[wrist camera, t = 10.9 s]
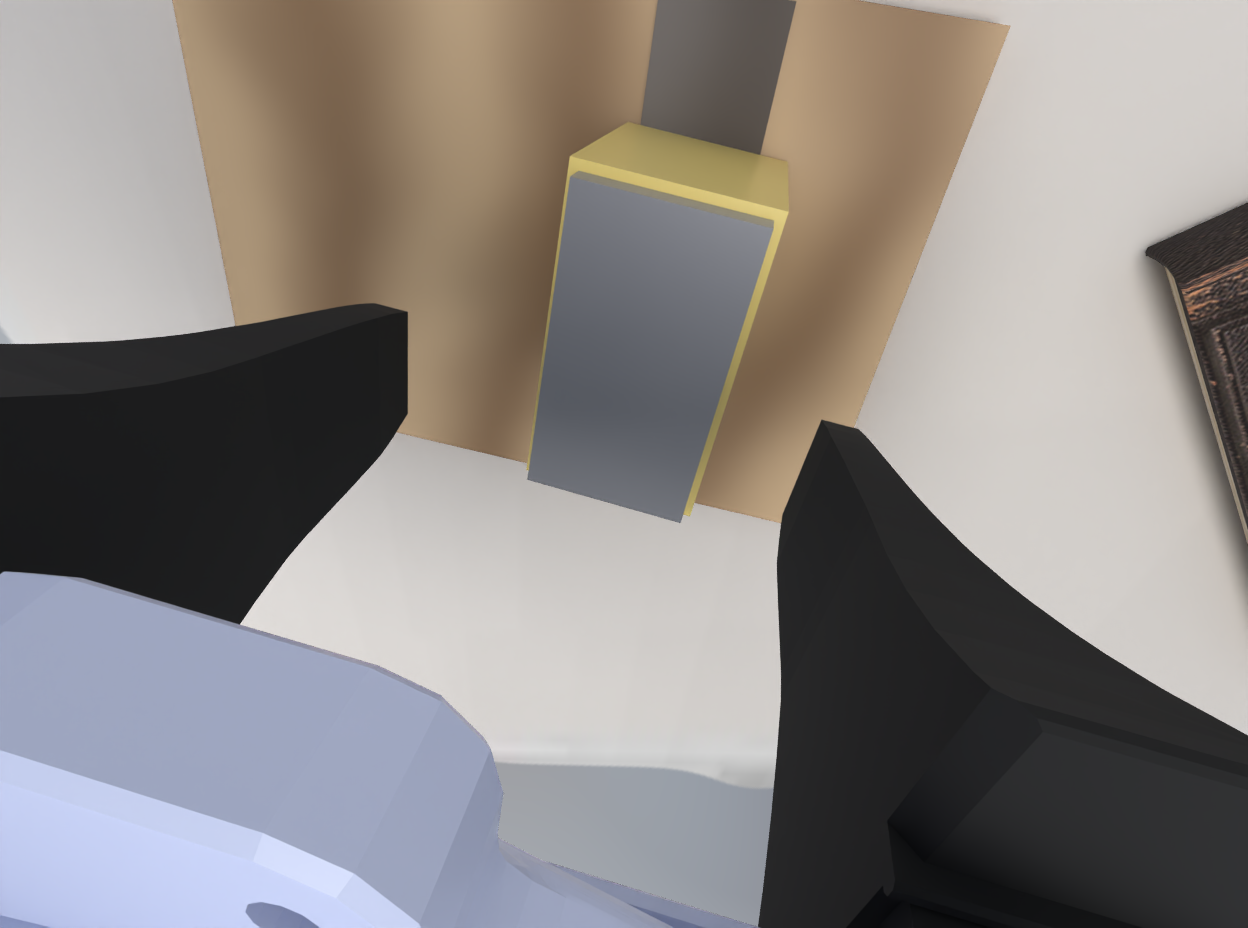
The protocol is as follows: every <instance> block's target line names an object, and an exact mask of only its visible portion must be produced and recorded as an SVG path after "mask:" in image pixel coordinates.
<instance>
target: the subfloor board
mask: <svg viewBox="0 0 1248 928" xmlns="http://www.w3.org/2000/svg"><path fill="white" fill-rule="evenodd" d="M172 1H173V6H174V11H175V17H176V22H177V27H178V32H179V37H180V42H181V47H182V53H183V58H184V63H185V68H186V73H187V78H188V83H189V88H190V94H191V99H192V104H193V109H194V114H195V119H196V124H197V130H198V135H199V140H200V145H201V150H202V155H203V160H204V166H205V171H206V176H207V181H208V186H209V191H210V196H211V201H212V207H213V212H214V217H215V222H216V227H217V232H218V237H219V243H220V248H221V253H222V258H223V263H224V268H225V273H226V279H227V284H228V289H229V294H230V299H231V304H232V309H233V315H234V320H235V325H236V326H240V325H245V324H251V323H257V322H263V321H268V320H273V319H278V318H283V317H288V316H293V315H298V314H303V313H308V312H314V311H319V310H324V309H329V308H335V307H341V306H347V305H354V304H364V303H376V304H380V305H384V306H388V307H392V308H395V309H399V310H403V311H407V312H408V414H407V416H406V418H405V419H404V421H403V422H402V424H401V426H400V427H399V429H398V430H397V432H398V433H402V434H406V435H410V436H415V437H419V438H423V439H427V440H431V441H436V442H440V443H444V444H448V445H453V446H457V447H461V448H465V449H470V450H474V451H478V452H482V453H486V454H491V455H495V456H499V457H503V458H508V459H512V460H516V461H520V462H525V463H527V462H528V455H529V448H530V441H531V433H532V426H533V419H534V412H535V404H536V397H537V390H538V383H539V375H540V368H541V361H542V354H543V346H544V339H545V332H546V325H547V317H548V310H549V303H550V296H551V289H552V281H553V274H554V267H555V260H556V252H557V245H558V238H559V231H560V223H561V216H562V209H563V202H564V194H565V187H566V180H567V173H568V165H569V158H570V156H571V155H573V154H574V153H576V152H578V151H579V150H581V149H583V148H585V147H586V146H588V145H590V144H591V143H593V142H595V141H596V140H598V139H600V138H602V137H603V136H605V135H607V134H608V133H610V132H612V131H614V130H615V129H617V128H619V127H620V126H622V125H624V124H625V123H627V122H630V123H634V124H638V125H642V126H646V127H650V128H654V129H658V130H662V131H666V132H670V133H674V134H678V135H682V136H686V137H690V138H694V139H698V140H702V141H706V142H710V143H714V144H718V145H722V146H726V147H730V148H734V149H738V150H742V151H746V152H750V153H754V154H758V155H762V156H766V157H770V158H774V159H778V160H782V161H786V162H788V192H789V213H788V216H787V219H786V222H785V225H784V228H783V231H782V234H781V238H780V241H779V244H778V247H777V250H776V253H775V256H774V259H773V262H772V265H771V268H770V271H769V274H768V278H767V281H766V284H765V287H764V290H763V293H762V296H761V299H760V302H759V305H758V308H757V311H756V315H755V318H754V321H753V324H752V327H751V330H750V333H749V336H748V339H747V342H746V345H745V348H744V351H743V355H742V358H741V361H740V364H739V367H738V370H737V373H736V376H735V379H734V382H733V385H732V388H731V391H730V395H729V398H728V401H727V404H726V407H725V410H724V413H723V416H722V419H721V422H720V425H719V428H718V431H717V435H716V438H715V441H714V444H713V447H712V450H711V453H710V456H709V459H708V462H707V465H706V468H705V472H704V475H703V478H702V481H701V484H700V487H699V490H698V493H697V496H696V499H695V502H694V503H698V504H702V505H706V506H711V507H715V508H719V509H723V510H728V511H732V512H736V513H740V514H744V515H749V516H753V517H757V518H761V519H766V520H770V521H774V522H778V523H781V521H782V514H783V512H784V509H785V507H786V505H787V502H788V500H789V497H790V495H791V492H792V490H793V488H794V485H795V483H796V480H797V478H798V475H799V473H800V471H801V468H802V466H803V463H804V461H805V458H806V456H807V453H808V451H809V449H810V446H811V444H812V441H813V439H814V436H815V434H816V432H817V429H818V427H819V424H820V422H821V419H822V420H825V421H829V422H833V423H837V424H841V425H845V426H848V427H852V428H854V425H855V423H856V420H857V417H858V415H859V412H860V410H861V407H862V405H863V402H864V400H865V397H866V394H867V392H868V389H869V387H870V384H871V382H872V379H873V377H874V374H875V371H876V369H877V366H878V364H879V361H880V359H881V356H882V354H883V351H884V348H885V346H886V343H887V341H888V338H889V336H890V333H891V330H892V328H893V325H894V323H895V320H896V318H897V315H898V313H899V310H900V307H901V305H902V302H903V300H904V297H905V295H906V292H907V290H908V287H909V284H910V282H911V279H912V277H913V274H914V272H915V269H916V267H917V264H918V261H919V259H920V256H921V254H922V251H923V249H924V246H925V244H926V241H927V238H928V236H929V233H930V231H931V228H932V226H933V223H934V221H935V218H936V215H937V213H938V210H939V208H940V205H941V203H942V200H943V197H944V195H945V192H946V190H947V187H948V185H949V182H950V180H951V177H952V174H953V172H954V169H955V167H956V164H957V162H958V159H959V157H960V154H961V151H962V149H963V146H964V144H965V141H966V139H967V136H968V134H969V131H970V128H971V126H972V123H973V121H974V118H975V116H976V113H977V111H978V108H979V105H980V103H981V100H982V98H983V95H984V93H985V90H986V88H987V85H988V82H989V80H990V77H991V75H992V72H993V70H994V67H995V64H996V62H997V59H998V57H999V54H1000V52H1001V49H1002V47H1003V44H1004V41H1005V39H1006V36H1007V34H1008V31H1009V29H1010V26H1008V25H1002V24H996V23H990V22H984V21H978V20H972V19H966V18H960V17H954V16H948V15H942V14H936V13H930V12H924V11H918V10H912V9H906V8H900V7H894V6H888V5H882V4H876V3H870V2H864V1H858V0H172Z"/></svg>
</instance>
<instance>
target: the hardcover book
mask: <svg viewBox="0 0 1248 928" xmlns="http://www.w3.org/2000/svg"><path fill="white" fill-rule="evenodd" d="M1145 253H1146V256H1149V257H1151V258H1153V259H1155V260H1157V261H1158V262H1159V263H1161V264H1162V265H1163V266H1164V267H1165V270H1166V273H1167V277H1168V280H1169V283H1170V287H1171V290H1172V293H1173V297H1174V300H1175V303H1176V307H1177V310H1178V313H1179V317H1180V320H1181V323H1182V327H1183V330H1184V333H1185V336H1186V340H1187V343H1188V346H1189V350H1190V353H1191V356H1192V360H1193V363H1194V366H1195V370H1196V373H1197V376H1198V380H1199V383H1200V386H1201V390H1202V393H1203V396H1204V399H1205V403H1206V406H1207V409H1208V413H1209V416H1210V419H1211V423H1212V426H1213V429H1214V433H1215V436H1216V439H1217V443H1218V446H1219V449H1220V453H1221V456H1222V459H1223V462H1224V466H1225V469H1226V473H1227V476H1228V479H1229V483H1230V486H1231V490H1232V493H1233V496H1234V500H1235V503H1236V506H1237V510H1238V513H1239V517H1240V520H1241V523H1242V527H1243V530H1244V533H1245V537H1246V540H1247V544H1248V203H1247V204H1244V205H1242V206H1240V207H1238V208H1236V209H1233V210H1231V211H1229V212H1227V213H1224V214H1222V215H1220V216H1218V217H1215V218H1213V219H1211V220H1209V221H1206V222H1204V223H1202V224H1200V225H1198V226H1195V227H1193V228H1191V229H1189V230H1186V231H1184V232H1182V233H1180V234H1177V235H1175V236H1173V237H1171V238H1168V239H1166V240H1164V241H1162V242H1160V243H1157V244H1155V245H1153V246H1151V247H1148V248H1147V250H1146V252H1145Z"/></svg>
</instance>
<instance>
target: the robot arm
mask: <svg viewBox="0 0 1248 928" xmlns="http://www.w3.org/2000/svg"><path fill="white" fill-rule="evenodd" d="M407 414H408V312H407V311H403V310H399V309H395V308H392V307H388V306H384V305H380V304H376V303H364V304H354V305H347V306H341V307H335V308H329V309H324V310H319V311H314V312H308V313H303V314H298V315H293V316H288V317H283V318H278V319H273V320H268V321H263V322H257V323H251V324H245V325H240V326H234V327H228V328H222V329H216V330H210V331H204V332H198V333H190V334H183V335H174V336H166V337H156V338H145V339H134V340H123V341H108V342H79V343H49V344H0V928H1248V735H1246V734H1244V733H1242V732H1240V731H1238V730H1237V729H1235V728H1233V727H1231V726H1229V725H1227V724H1226V723H1224V722H1222V721H1220V720H1218V719H1216V718H1215V717H1213V716H1211V715H1209V714H1207V713H1205V712H1204V711H1202V710H1200V709H1198V708H1196V707H1194V706H1192V705H1191V704H1189V703H1187V702H1185V701H1183V700H1181V699H1180V698H1178V697H1176V696H1174V695H1172V694H1170V693H1169V692H1167V691H1165V690H1163V689H1162V688H1160V687H1158V686H1157V685H1155V684H1153V683H1152V682H1150V681H1148V680H1147V679H1145V678H1144V677H1142V676H1140V675H1139V674H1137V673H1135V672H1134V671H1132V670H1131V669H1129V668H1127V667H1126V666H1124V665H1123V664H1121V663H1119V662H1118V661H1116V660H1114V659H1113V658H1111V657H1110V656H1108V655H1106V654H1105V653H1103V652H1102V651H1100V650H1099V649H1097V648H1096V647H1094V646H1093V645H1091V644H1090V643H1088V642H1087V641H1085V640H1084V639H1082V638H1081V637H1079V636H1078V635H1076V634H1075V633H1073V632H1072V631H1070V630H1069V629H1068V628H1066V627H1065V626H1064V625H1062V624H1061V623H1059V622H1058V621H1057V620H1055V619H1054V618H1052V617H1051V616H1050V615H1048V614H1047V613H1046V612H1044V611H1043V610H1041V609H1040V608H1039V607H1037V606H1036V605H1035V604H1033V603H1032V602H1031V601H1029V600H1028V599H1027V598H1025V597H1024V596H1023V595H1022V594H1020V593H1019V592H1018V591H1016V590H1015V589H1014V588H1013V587H1011V586H1010V585H1009V584H1008V583H1007V582H1005V581H1004V580H1003V579H1002V578H1001V577H1000V576H998V575H997V574H996V573H995V572H994V571H993V570H991V569H990V568H989V567H988V566H987V565H986V564H984V563H983V562H982V561H981V560H980V559H979V558H977V557H976V556H975V555H974V554H973V553H972V552H971V551H970V550H969V549H968V548H967V547H965V546H964V545H963V544H962V543H961V542H960V541H959V540H958V539H957V538H956V537H955V536H954V535H953V534H952V533H951V532H950V531H949V530H948V529H947V528H946V527H945V526H944V525H943V524H942V523H941V522H940V521H939V520H938V519H937V518H936V517H935V515H934V514H933V513H932V512H931V511H930V510H929V509H928V508H927V507H926V506H925V505H924V504H923V502H922V501H921V500H920V499H919V498H918V497H917V496H916V495H915V493H914V492H913V491H912V490H911V489H910V488H909V487H908V485H907V484H906V483H905V482H904V481H903V480H902V478H901V477H900V476H899V475H898V474H897V472H896V471H895V470H894V469H893V468H892V467H891V465H890V464H889V463H888V462H887V461H886V459H885V458H884V457H883V456H882V455H881V453H880V452H879V451H878V450H877V449H876V447H875V446H874V445H873V444H872V443H871V442H870V440H869V439H868V438H867V437H866V436H865V435H864V434H863V433H862V432H861V431H860V430H859V429H856V428H852V427H848V426H845V425H841V424H837V423H833V422H829V421H825V420H822V419H821V422H820V424H819V427H818V429H817V432H816V434H815V436H814V439H813V441H812V444H811V446H810V449H809V451H808V453H807V456H806V458H805V461H804V463H803V466H802V468H801V471H800V473H799V475H798V478H797V480H796V483H795V485H794V488H793V490H792V492H791V495H790V497H789V500H788V502H787V505H786V507H785V509H784V512H783V514H782V521H781V529H780V538H779V547H778V557H777V583H778V611H779V634H780V658H781V706H780V720H779V733H778V747H777V759H776V770H775V781H774V792H773V803H772V813H771V823H770V832H769V841H768V850H767V858H766V868H765V876H764V885H763V886H764V887H763V893H762V901H761V909H760V916H759V924H758V927H756V926H753V925H750V924H747V923H744V922H740V921H737V920H734V919H731V918H727V917H724V916H720V915H718V914H714V913H711V912H708V911H704V910H701V909H698V908H695V907H692V906H688V905H685V904H682V903H679V902H676V901H672V900H669V899H666V898H663V897H660V896H656V895H653V894H650V893H647V892H643V891H640V890H637V889H633V888H630V887H627V886H624V885H621V884H618V883H614V882H611V881H608V880H605V879H601V878H598V877H595V876H591V875H588V874H585V873H582V872H578V871H575V870H572V869H569V868H565V867H563V866H559V865H556V864H553V863H550V862H546V861H543V860H541V859H539V858H537V857H535V856H533V855H531V854H529V853H527V852H525V851H524V850H521V849H520V848H517V847H516V846H514V845H512V844H510V843H508V842H506V841H504V840H502V839H500V838H498V833H497V832H498V826H499V819H500V813H501V806H502V799H503V790H502V787H501V783H500V780H499V776H498V773H497V769H496V766H495V762H494V759H493V755H492V752H491V749H490V747H489V745H488V744H487V742H486V740H485V739H484V737H483V736H482V735H481V734H480V733H479V732H478V731H477V730H476V729H475V728H474V727H473V726H472V725H471V724H470V723H469V722H468V721H467V720H466V719H465V718H464V717H463V716H461V715H460V714H459V713H458V712H457V711H456V710H455V709H454V708H453V707H452V706H451V705H450V704H449V703H448V702H447V701H446V700H445V699H444V698H443V697H442V696H441V695H439V694H437V693H435V692H433V691H431V690H429V689H426V688H424V687H422V686H420V685H418V684H416V683H414V682H412V681H410V680H407V679H405V678H403V677H401V676H399V675H397V674H395V673H393V672H391V671H388V670H386V669H384V668H382V667H380V666H378V665H374V664H371V663H368V662H364V661H361V660H357V659H354V658H351V657H347V656H344V655H341V654H337V653H334V652H330V651H327V650H324V649H320V648H317V647H314V646H310V645H307V644H303V643H300V642H297V641H293V640H290V639H286V638H283V637H280V636H276V635H273V634H270V633H266V632H263V631H259V630H256V629H253V628H249V627H246V626H242V625H240V623H241V622H242V620H243V619H244V617H245V616H246V614H247V613H248V612H249V610H250V609H251V607H252V606H253V604H254V603H255V601H256V600H257V599H258V597H259V596H260V594H261V593H262V592H263V590H264V589H265V588H266V586H267V585H268V584H269V582H270V581H271V579H272V578H273V577H274V575H275V574H276V573H277V571H278V570H279V569H280V567H281V566H282V564H283V563H284V562H285V560H286V559H287V558H288V557H289V555H290V554H291V553H292V552H293V551H294V549H295V548H296V547H297V546H298V545H299V544H300V542H301V541H302V540H303V539H304V538H305V537H306V535H307V534H308V533H309V532H310V531H311V530H312V529H313V528H314V527H315V526H316V525H317V524H318V523H319V522H320V520H321V519H322V518H323V517H324V516H325V515H326V514H327V513H328V512H329V511H330V510H331V509H332V508H333V507H334V505H335V504H336V503H337V502H338V501H339V500H340V499H341V498H342V497H343V496H344V495H345V494H346V493H347V492H348V490H349V489H350V488H351V487H352V486H353V485H354V484H355V483H356V482H357V481H358V480H359V479H360V477H361V476H362V475H363V474H364V473H365V472H366V471H367V470H368V469H369V468H370V466H371V465H372V464H373V463H374V462H375V461H376V460H377V459H378V457H379V456H380V455H381V454H382V453H383V451H384V450H385V448H386V447H387V445H388V444H389V442H390V441H391V440H392V438H393V437H394V435H395V433H396V432H397V430H398V429H399V427H400V426H401V424H402V422H403V421H404V419H405V418H406V416H407Z"/></svg>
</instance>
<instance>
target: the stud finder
mask: <svg viewBox="0 0 1248 928" xmlns="http://www.w3.org/2000/svg"><path fill="white" fill-rule="evenodd" d="M788 213H789V192H788V162H786V161H782V160H778V159H774V158H770V157H766V156H762V155H758V154H754V153H750V152H746V151H742V150H738V149H734V148H730V147H726V146H722V145H718V144H714V143H710V142H706V141H702V140H698V139H694V138H690V137H686V136H682V135H678V134H674V133H670V132H666V131H662V130H658V129H654V128H650V127H646V126H642V125H638V124H634V123H630V122H627V123H625V124H624V125H622V126H620V127H619V128H617V129H615V130H614V131H612V132H610V133H608V134H607V135H605V136H603V137H602V138H600V139H598V140H596V141H595V142H593V143H591V144H590V145H588V146H586V147H585V148H583V149H581V150H579V151H578V152H576V153H574V154H573V155H571V156H570V158H569V165H568V173H567V180H566V187H565V194H564V202H563V209H562V216H561V223H560V231H559V238H558V245H557V252H556V260H555V267H554V274H553V281H552V289H551V296H550V303H549V310H548V317H547V325H546V332H545V339H544V346H543V354H542V361H541V368H540V375H539V383H538V390H537V397H536V404H535V412H534V419H533V426H532V433H531V441H530V448H529V455H528V462H527V469H526V470H528V471H529V472H528V479H527V480H531V481H534V482H538V483H541V484H545V485H548V486H552V487H555V488H559V489H562V490H566V491H569V492H573V493H576V494H580V495H584V496H587V497H591V498H594V499H598V500H601V501H605V502H608V503H612V504H615V505H619V506H622V507H626V508H629V509H633V510H636V511H640V512H643V513H647V514H650V515H654V516H657V517H661V518H664V519H668V520H672V521H675V522H679V523H681V520H682V516H683V515H687V516H690V515H691V512H692V508H693V505H694V502H695V499H696V496H697V493H698V490H699V487H700V484H701V481H702V478H703V475H704V472H705V468H706V465H707V462H708V459H709V456H710V453H711V450H712V447H713V444H714V441H715V438H716V435H717V431H718V428H719V425H720V422H721V419H722V416H723V413H724V410H725V407H726V404H727V401H728V398H729V395H730V391H731V388H732V385H733V382H734V379H735V376H736V373H737V370H738V367H739V364H740V361H741V358H742V355H743V351H744V348H745V345H746V342H747V339H748V336H749V333H750V330H751V327H752V324H753V321H754V318H755V315H756V311H757V308H758V305H759V302H760V299H761V296H762V293H763V290H764V287H765V284H766V281H767V278H768V274H769V271H770V268H771V265H772V262H773V259H774V256H775V253H776V250H777V247H778V244H779V241H780V238H781V234H782V231H783V228H784V225H785V222H786V219H787V216H788Z"/></svg>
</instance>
